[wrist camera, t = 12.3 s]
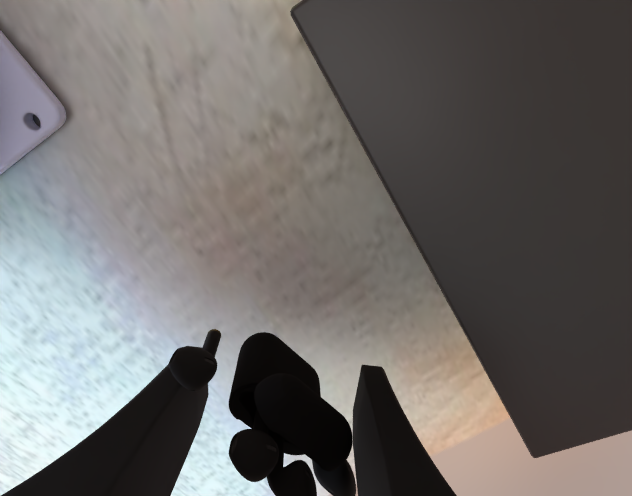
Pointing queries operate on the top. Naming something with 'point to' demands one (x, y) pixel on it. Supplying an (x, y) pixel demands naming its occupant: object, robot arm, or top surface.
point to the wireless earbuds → (276, 416)
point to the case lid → (507, 183)
